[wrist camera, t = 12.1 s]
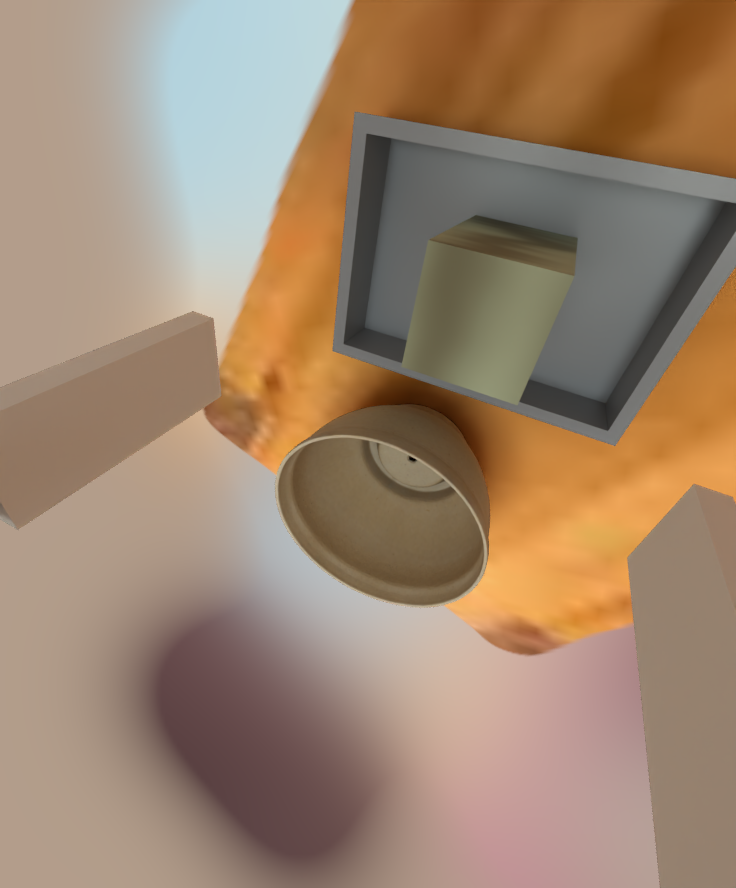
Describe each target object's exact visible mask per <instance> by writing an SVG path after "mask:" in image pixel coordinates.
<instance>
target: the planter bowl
mask: <svg viewBox="0 0 736 888" xmlns="http://www.w3.org/2000/svg"><path fill="white" fill-rule="evenodd" d="M409 456H411V457H413V458H414V459H416V461H411V460H410V459H409ZM275 496H276V502H277V506H278V510H279V513H280V516H281V518H282V521H283V523H284V525H285V527H286V529H287V530H288V532H289V534H290V535H291V537H292V538H293V540H294V541H295V542H296V544H297V545H298V546H299V547H300V548H301V550H302V551H303V552H304V553H305V554H306V555H307V556H308V557H309V558H310V559H311V560H312V561H313V562H314V563H315V564H316V565H317V566H318V567H319V568H321V569H322V570H323V571H324V572H326V573H327V574H328V575H330V576H331V577H333V578H334V579H336V580H337V581H339V582H340V583H342V584H343V585H346V586H347V587H349V588H351V589H353V590H355V591H357V592H359V593H362V594H364V595H366V596H368V597H371V598H374V599H377V600H380V601H383V602H387V603H391V604H395V605H401V606H407V607H436V606H442V605H445V604H449V603H452V602H454V601H457V600H459V599H461V598H463V597H464V596H466V595H467V594H468V593H470V592H471V591H472V590H473V589H474V588H475V587H476V586H477V584H478V583H479V581H480V580H481V578H482V576H483V574H484V572H485V569H486V565H487V560H488V554H489V539H488V536H489V527H490V503H489V495H488V490H487V486H486V482H485V478H484V476H483V473H482V470H481V467H480V465H479V463H478V461H477V459H476V457H475V455H474V453H473V452H472V450H471V449H470V447H469V446H468V444H467V443H466V440H465V438H464V436H463V434H462V433H461V432H460V430H459V429H458V428H457V426H456V425H455V424H454V423H453V422H452V421H450V420H449V419H448V418H447V417H445V416H444V415H443V414H441V413H439V412H437V411H435V410H433V409H431V408H428V407H425V406H421V405H415V404H401V405H381V406H373V407H368V408H363V409H359V410H356V411H353V412H350V413H347V414H345V415H343V416H340V417H338V418H336V419H335V420H333V421H331V422H329V423H328V424H326V425H325V426H323V427H322V428H320V429H319V430H318V431H316V432H315V433H314V434H313V435H312V436H311V437H309V438H307V439H306V440H304V441H302V442H301V443H300V444H298V445H297V446H296V447H295V448H294V449H293V450H291V451H290V452H289V453H288V454H287V456H286V457H285V458H284V460H283V461H282V463H281V465H280V467H279V469H278V472H277V476H276V481H275Z"/></svg>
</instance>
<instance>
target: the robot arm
mask: <svg viewBox="0 0 736 888" xmlns="http://www.w3.org/2000/svg"><path fill="white" fill-rule="evenodd" d="M219 397H221V387H220V378H219V368H218V359H217V349H216V340H215V330H214V320H213V318H211V317H208V316H205V315H202V314H199V313H196V312H193V311H192V312H190V313H187V314H185V315H182V316H180V317H177V318H175V319H172V320H170V321H167V322H164V323H162V324H159V325H157V326H154V327H152V328H149V329H147V330H144V331H142V332H139V333H136V334H134V335H132V336H129V337H126V338H124V339H121V340H119V341H116V342H114V343H111V344H109V345H106V346H103V347H101V348H98V349H96V350H93V351H91V352H88V353H86V354H83V355H81V356H78V357H76V358H73V359H71V360H68V361H65V362H63V363H60V364H58V365H55V366H53V367H50V368H48V369H45V370H43V371H40V372H38V373H35V374H32V375H30V376H27V377H25V378H22V379H20V380H17V381H15V382H12V383H10V384H7V385H5V386H2V387H0V520H2V521H4V522H5V523H7V524H9V525H11V526H12V527H14V528H16V529H20V528H21V527H23V526H24V525H26V524H27V523H29V522H30V521H32V520H33V519H35V518H36V517H38V516H40V515H41V514H43V513H44V512H46V511H47V510H49V509H50V508H52V507H53V506H55V505H56V504H58V503H59V502H61V501H62V500H63V499H65V498H67V497H68V496H70V495H71V494H73V493H75V492H76V491H78V490H79V489H81V488H82V487H84V486H85V485H87V484H88V483H90V482H91V481H93V480H94V479H96V478H97V477H99V476H100V475H102V474H103V473H105V472H106V471H108V470H110V469H111V468H113V467H114V466H116V465H117V464H119V463H120V462H122V461H123V460H125V459H126V458H128V457H129V456H131V455H132V454H134V453H135V452H137V451H139V450H140V449H141V448H143V447H144V446H146V445H148V444H149V443H151V442H152V441H154V440H155V439H157V438H158V437H160V436H161V435H163V434H164V433H166V432H167V431H169V430H170V429H172V428H173V427H175V426H176V425H178V424H180V423H181V422H183V421H184V420H186V419H187V418H189V417H190V416H192V415H193V414H195V413H196V412H198V411H199V410H201V409H202V408H204V407H206V406H207V405H209V404H210V403H212V402H213V401H215V400H216V399H218V398H219ZM627 559H628V569H629V579H630V589H631V599H632V610H633V620H634V629H635V639H636V650H637V660H638V670H639V680H640V690H641V700H642V710H643V721H644V731H645V741H646V751H647V761H648V772H649V782H650V790H651V791H650V792H651V802H652V812H653V822H654V832H655V842H656V851H657V852H656V853H657V863H658V873H659V882H660V888H736V504H735V502H734V499H733V497H731V496H728V495H725V494H722V493H719V492H716V491H713V490H710V489H708V488H705V487H702V486H699V485H696V484H693V485H692V487H691V488H690V489H689V490H688V491H687V492H686V493H685V494H684V495H683V497H682V498H681V499H680V500H679V501H678V502H677V503H676V504H675V505H674V507H673V508H672V509H671V510H670V511H669V512H668V513H667V514H666V515H665V517H664V518H663V519H662V520H661V521H660V522H659V523H658V524H657V525H656V527H655V528H654V529H653V530H652V531H651V532H650V533H649V534H648V535H647V537H646V538H645V539H644V540H643V541H642V542H641V543H640V544H639V545H638V546H637V548H636V549H635V550H634V551H633V552H632V553H631V554H630V555H629V556H628V558H627Z"/></svg>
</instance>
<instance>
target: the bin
mask: <svg viewBox="0 0 736 888" xmlns="http://www.w3.org/2000/svg"><path fill="white" fill-rule="evenodd" d="M475 215H478V216H482V217H487V218H491V219H496V220H500V221H504V222H509V223H513V224H518V225H522V226H527V227H531V228H535V229H540V230H544V231H549V232H553V233H558V234H562V235H566V236H571V237H575V238H578V239H577V252H576V264H575V276H574V279H573V281H572V283H571V285H570V288H569V290H568V292H567V294H566V297H565V299H564V301H563V303H562V306H561V308H560V310H559V312H558V315H557V317H556V319H555V322H554V324H553V326H552V328H551V331H550V333H549V335H548V337H547V340H546V342H545V344H544V346H543V349H542V351H541V353H540V355H539V358H538V360H537V362H536V365H535V367H534V369H533V371H532V374H531V376H530V378H529V380H528V383H527V385H526V387H525V389H524V392H523V394H522V396H521V398H520V401H519V403H518V405H515V404H512V403H509V402H506V401H503V400H500V399H497V398H494V397H491V396H488V395H485V394H482V393H479V392H476V391H473V390H470V389H467V388H464V387H461V386H458V385H455V384H452V383H448V382H445V381H442V380H439V379H436V378H433V377H430V376H427V375H424V374H421V373H418V372H415V371H412V370H409V369H406V368H403V367H401V366H402V361H403V357H404V352H405V347H406V342H407V338H408V333H409V328H410V324H411V319H412V314H413V310H414V305H415V300H416V296H417V291H418V286H419V282H420V277H421V272H422V267H423V263H424V258H425V253H426V249H427V244H428V240H429V239H431V238H433V237H435V236H437V235H439V234H441V233H443V232H444V231H446V230H448V229H450V228H452V227H454V226H456V225H458V224H460V223H462V222H464V221H465V220H467V219H469V218H471V217H473V216H475ZM735 267H736V179H733V178H728V177H722V176H716V175H711V174H705V173H699V172H694V171H688V170H682V169H677V168H671V167H665V166H660V165H654V164H648V163H643V162H637V161H631V160H626V159H620V158H614V157H609V156H603V155H597V154H592V153H586V152H580V151H575V150H569V149H564V148H558V147H552V146H547V145H541V144H535V143H530V142H524V141H518V140H513V139H507V138H501V137H496V136H490V135H484V134H479V133H473V132H467V131H462V130H456V129H450V128H445V127H439V126H433V125H428V124H422V123H416V122H411V121H405V120H399V119H394V118H388V117H382V116H377V115H371V114H365V113H360V112H355V114H354V125H353V136H352V146H351V157H350V168H349V179H348V189H347V200H346V211H345V222H344V233H343V243H342V254H341V265H340V276H339V286H338V297H337V308H336V319H335V330H334V340H333V351H334V352H337V353H340V354H343V355H346V356H349V357H352V358H355V359H358V360H361V361H364V362H367V363H370V364H373V365H376V366H379V367H382V368H385V369H388V370H391V371H394V372H397V373H400V374H403V375H406V376H409V377H412V378H415V379H417V380H420V381H423V382H426V383H429V384H432V385H435V386H438V387H441V388H444V389H447V390H450V391H453V392H456V393H459V394H462V395H465V396H468V397H471V398H474V399H477V400H480V401H483V402H486V403H489V404H492V405H495V406H498V407H501V408H504V409H507V410H510V411H513V412H516V413H519V414H522V415H525V416H528V417H531V418H534V419H536V420H539V421H542V422H545V423H548V424H551V425H554V426H557V427H560V428H563V429H566V430H569V431H572V432H575V433H578V434H581V435H584V436H587V437H590V438H593V439H596V440H599V441H602V442H605V443H608V444H611V445H614V446H615V445H616V444H617V442H618V441H619V439H620V438H621V436H622V435H623V433H624V432H625V430H626V429H627V427H628V426H629V424H630V423H631V421H632V420H633V419H634V417H635V416H636V414H637V413H638V411H639V410H640V408H641V407H642V405H643V404H644V402H645V401H646V399H647V398H648V396H649V395H650V393H651V392H652V390H653V389H654V387H655V386H656V384H657V383H658V381H659V380H660V378H661V377H662V375H663V374H664V372H665V371H666V369H667V368H668V366H669V365H670V363H671V362H672V360H673V359H674V357H675V356H676V355H677V353H678V352H679V350H680V349H681V347H682V346H683V344H684V343H685V341H686V340H687V338H688V337H689V335H690V334H691V332H692V331H693V329H694V328H695V326H696V325H697V323H698V322H699V320H700V319H701V317H702V316H703V314H704V313H705V311H706V310H707V308H708V307H709V305H710V304H711V302H712V301H713V299H714V298H715V296H716V295H717V293H718V292H719V290H720V289H721V288H722V286H723V285H724V283H725V282H726V280H727V279H728V277H729V276H730V274H731V273H732V271H733V270H734V268H735Z"/></svg>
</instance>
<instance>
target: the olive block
mask: <svg viewBox="0 0 736 888" xmlns="http://www.w3.org/2000/svg"><path fill="white" fill-rule="evenodd" d="M577 239H578V238H575V237H571V236H566V235H562V234H558V233H553V232H549V231H544V230H540V229H535V228H531V227H527V226H522V225H518V224H513V223H509V222H504V221H500V220H496V219H491V218H487V217H482V216H478V215H475V216H473V217H471V218H469V219H467V220H465V221H464V222H462V223H460V224H458V225H456V226H454V227H452V228H450V229H448V230H446V231H444V232H443V233H441V234H439V235H437V236H435V237H433V238H431V239H429V240H428V244H427V249H426V253H425V258H424V263H423V267H422V272H421V277H420V282H419V286H418V291H417V296H416V300H415V305H414V310H413V314H412V319H411V324H410V328H409V333H408V338H407V342H406V347H405V352H404V357H403V361H402V366H401V367H403V368H406V369H409V370H412V371H415V372H418V373H421V374H424V375H427V376H430V377H433V378H436V379H439V380H442V381H445V382H448V383H452V384H455V385H458V386H461V387H464V388H467V389H470V390H473V391H476V392H479V393H482V394H485V395H488V396H491V397H494V398H497V399H500V400H503V401H506V402H509V403H512V404H515V405H518V403H519V401H520V398H521V396H522V394H523V392H524V389H525V387H526V385H527V383H528V380H529V378H530V376H531V374H532V371H533V369H534V367H535V365H536V362H537V360H538V358H539V355H540V353H541V351H542V349H543V346H544V344H545V342H546V340H547V337H548V335H549V333H550V331H551V328H552V326H553V324H554V322H555V319H556V317H557V315H558V312H559V310H560V308H561V306H562V303H563V301H564V299H565V297H566V294H567V292H568V290H569V288H570V285H571V283H572V281H573V279H574V276H575V264H576V252H577Z"/></svg>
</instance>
